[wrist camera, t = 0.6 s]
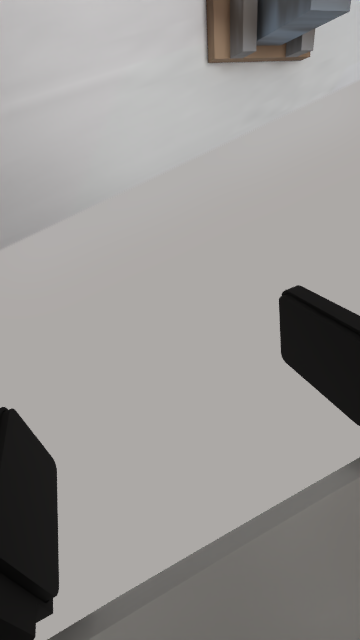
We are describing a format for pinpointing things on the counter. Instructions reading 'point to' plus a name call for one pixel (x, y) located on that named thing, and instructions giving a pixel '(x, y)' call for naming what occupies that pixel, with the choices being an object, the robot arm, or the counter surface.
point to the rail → (266, 28)
